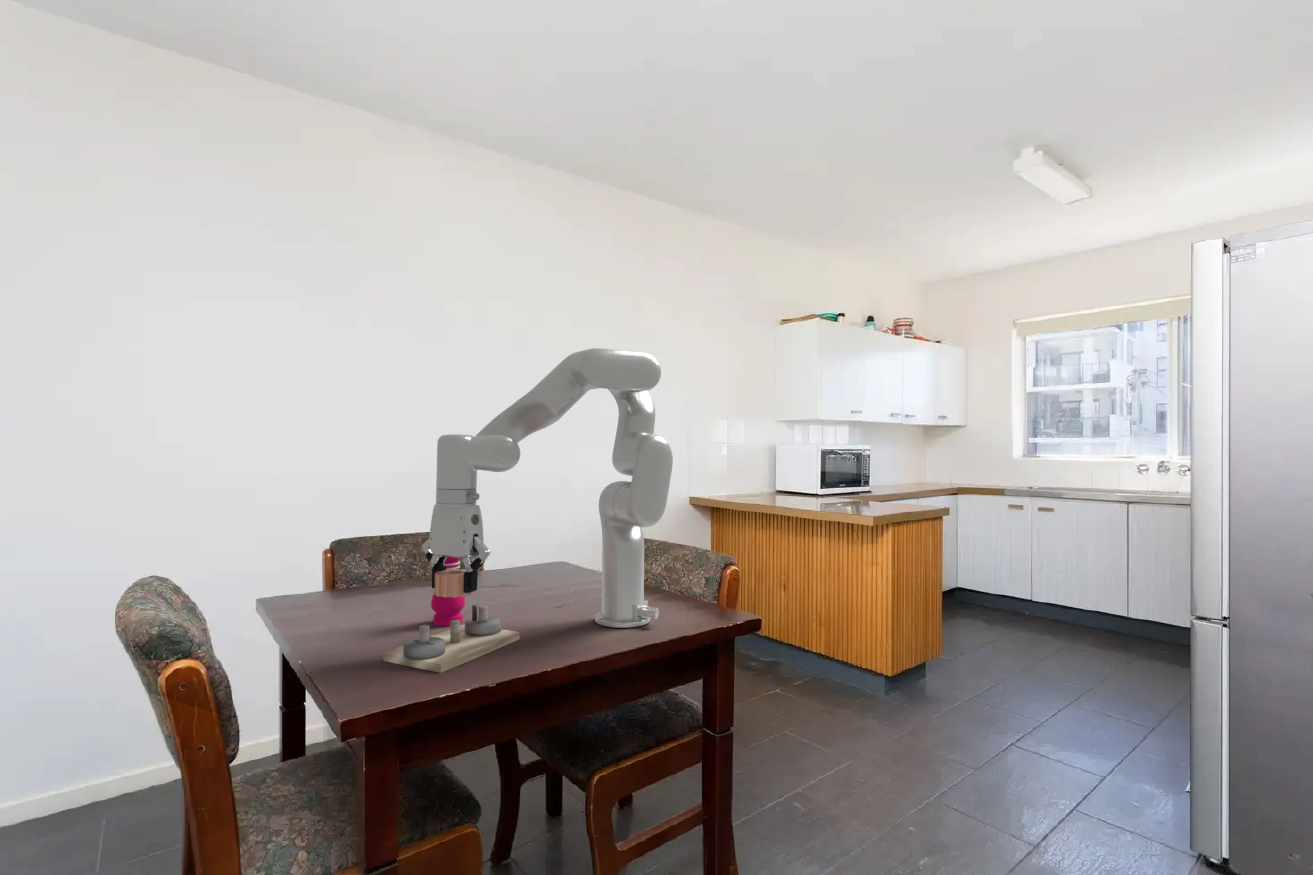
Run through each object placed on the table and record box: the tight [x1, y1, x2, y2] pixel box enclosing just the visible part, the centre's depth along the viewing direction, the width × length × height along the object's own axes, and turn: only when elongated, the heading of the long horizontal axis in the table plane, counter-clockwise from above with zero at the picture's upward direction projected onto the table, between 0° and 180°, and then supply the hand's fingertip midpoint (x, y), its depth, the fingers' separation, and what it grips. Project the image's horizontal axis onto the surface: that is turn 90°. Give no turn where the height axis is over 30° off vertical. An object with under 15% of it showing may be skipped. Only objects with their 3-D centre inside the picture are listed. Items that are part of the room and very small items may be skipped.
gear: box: [434, 568, 475, 597], centre depth 127 cm, size 7×7×4 cm
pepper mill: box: [430, 557, 466, 627], centre depth 146 cm, size 7×7×20 cm
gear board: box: [382, 604, 521, 674], centre depth 127 cm, size 14×23×6 cm, turn 154°
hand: (454, 588), depth 127 cm, fingers closed on gear, 7 cm apart
